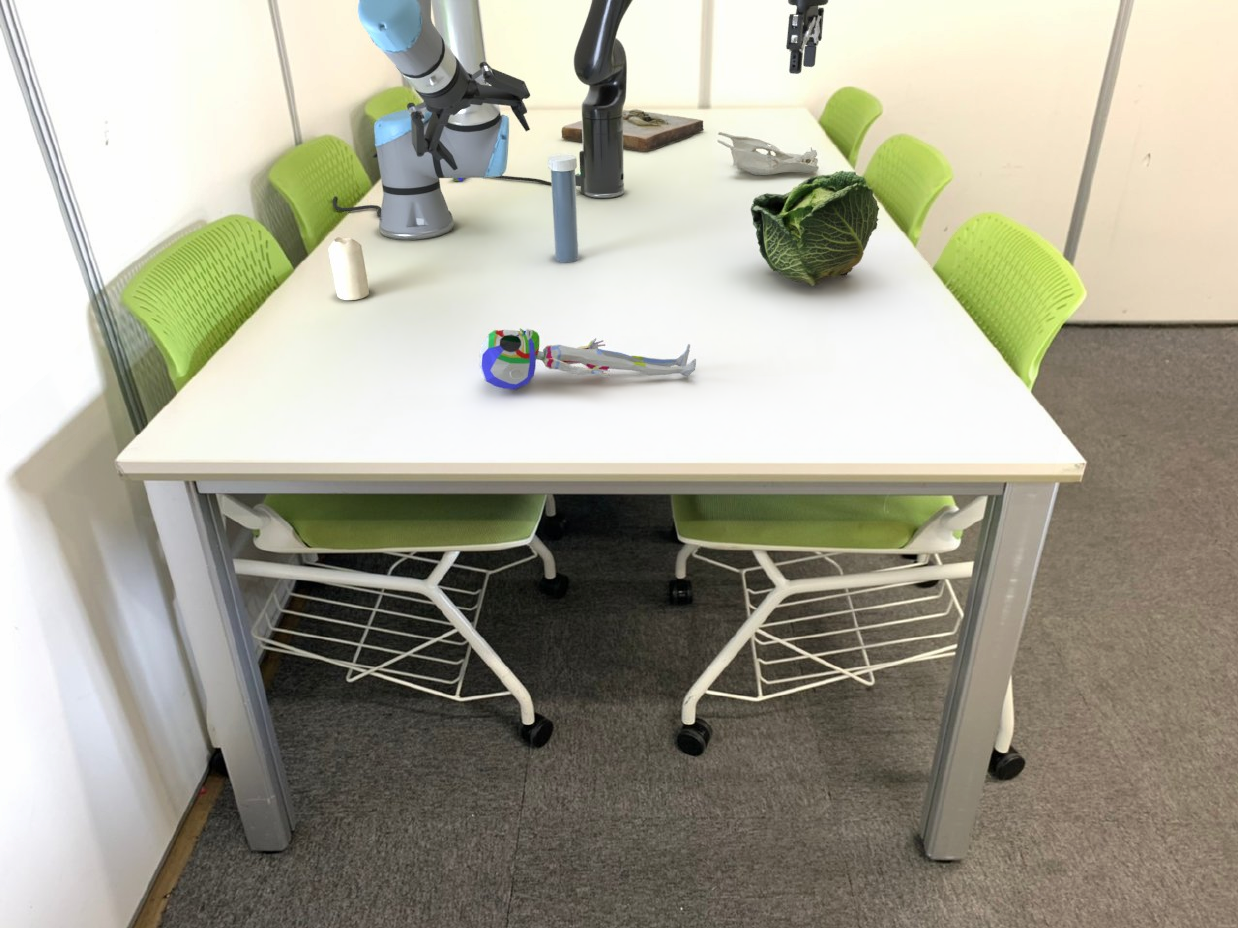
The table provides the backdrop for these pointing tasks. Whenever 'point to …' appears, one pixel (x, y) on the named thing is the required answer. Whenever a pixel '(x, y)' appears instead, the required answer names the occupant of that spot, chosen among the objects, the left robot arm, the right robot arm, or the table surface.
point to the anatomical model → (767, 157)
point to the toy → (561, 359)
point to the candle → (348, 269)
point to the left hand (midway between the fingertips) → (489, 143)
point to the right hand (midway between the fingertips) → (802, 70)
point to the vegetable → (816, 226)
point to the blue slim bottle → (564, 215)
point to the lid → (562, 162)
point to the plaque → (645, 129)
